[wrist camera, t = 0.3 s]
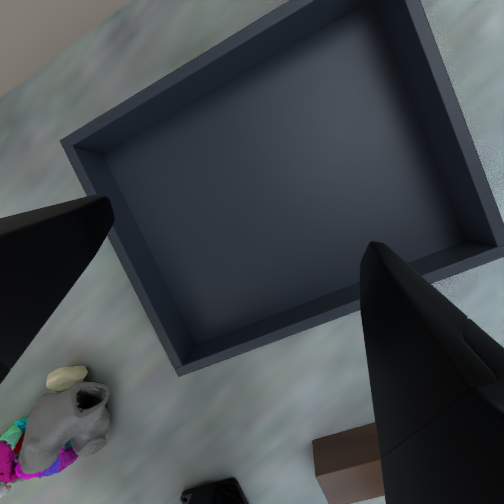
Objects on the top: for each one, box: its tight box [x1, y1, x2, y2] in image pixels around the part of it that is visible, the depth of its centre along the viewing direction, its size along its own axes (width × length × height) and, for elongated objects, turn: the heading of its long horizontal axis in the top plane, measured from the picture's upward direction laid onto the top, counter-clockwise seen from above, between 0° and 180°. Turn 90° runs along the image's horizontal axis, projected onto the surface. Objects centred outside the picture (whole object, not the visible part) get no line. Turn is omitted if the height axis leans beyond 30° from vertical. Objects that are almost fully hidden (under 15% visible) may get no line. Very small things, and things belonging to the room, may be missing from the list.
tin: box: [60, 0, 504, 377], centre depth 21 cm, size 21×26×4 cm
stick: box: [312, 423, 385, 504], centre depth 23 cm, size 3×20×4 cm, turn 115°
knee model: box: [0, 365, 111, 498], centre depth 28 cm, size 9×8×25 cm
